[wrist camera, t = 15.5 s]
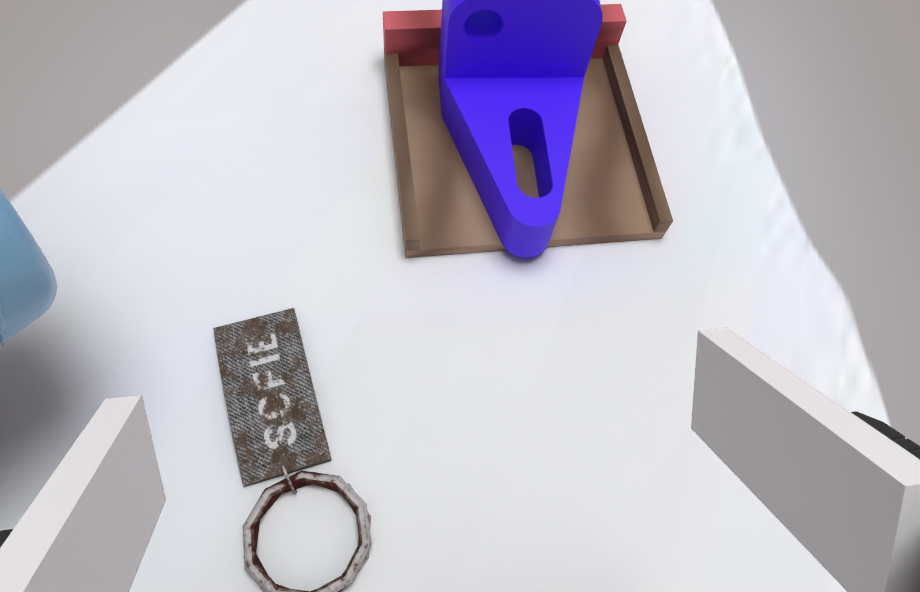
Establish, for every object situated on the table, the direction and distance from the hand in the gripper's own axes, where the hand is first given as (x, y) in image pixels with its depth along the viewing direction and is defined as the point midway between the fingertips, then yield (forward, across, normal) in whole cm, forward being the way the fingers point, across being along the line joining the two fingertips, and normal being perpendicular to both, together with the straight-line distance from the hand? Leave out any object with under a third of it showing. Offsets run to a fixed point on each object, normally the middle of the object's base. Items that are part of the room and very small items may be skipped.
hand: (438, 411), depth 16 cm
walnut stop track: (+42, +12, +1) cm, 43 cm away
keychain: (+26, -7, -16) cm, 31 cm away
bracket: (+39, +11, 0) cm, 41 cm away
